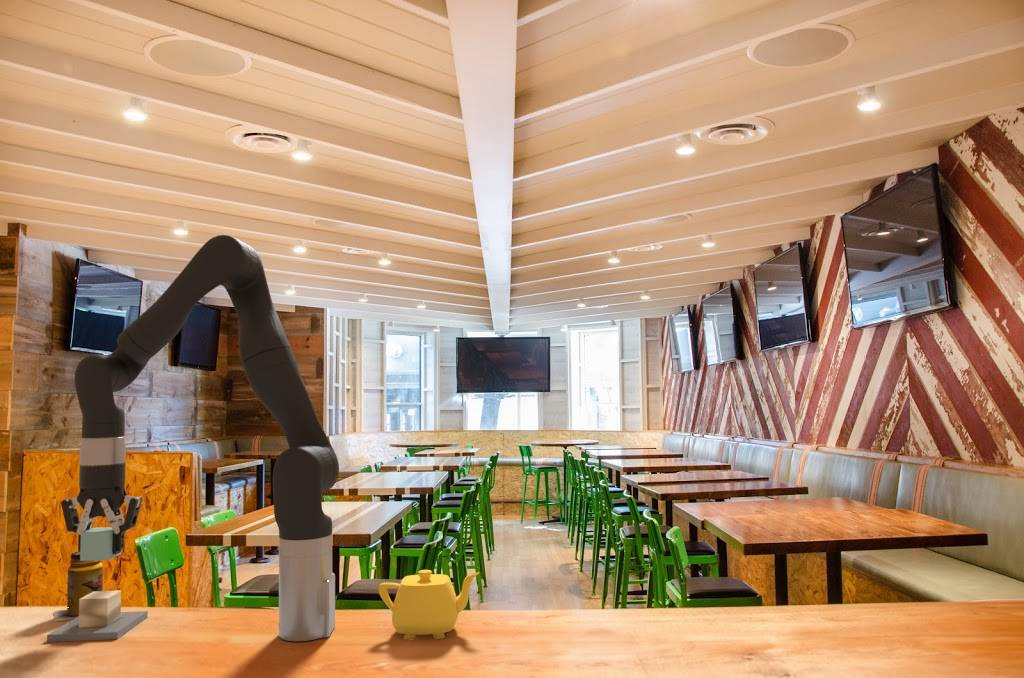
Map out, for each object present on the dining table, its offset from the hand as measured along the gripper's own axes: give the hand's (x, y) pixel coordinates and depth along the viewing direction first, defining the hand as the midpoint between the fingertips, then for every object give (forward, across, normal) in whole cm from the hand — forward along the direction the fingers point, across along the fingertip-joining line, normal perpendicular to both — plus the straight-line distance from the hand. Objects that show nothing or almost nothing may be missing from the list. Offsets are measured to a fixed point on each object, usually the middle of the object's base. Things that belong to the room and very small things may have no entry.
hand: (101, 553), depth 134 cm
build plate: (+14, 0, 0) cm, 14 cm away
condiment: (+14, +9, -10) cm, 20 cm away
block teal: (+1, 0, 0) cm, 1 cm away
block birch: (+12, 0, 0) cm, 12 cm away
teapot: (+14, -61, +9) cm, 63 cm away
